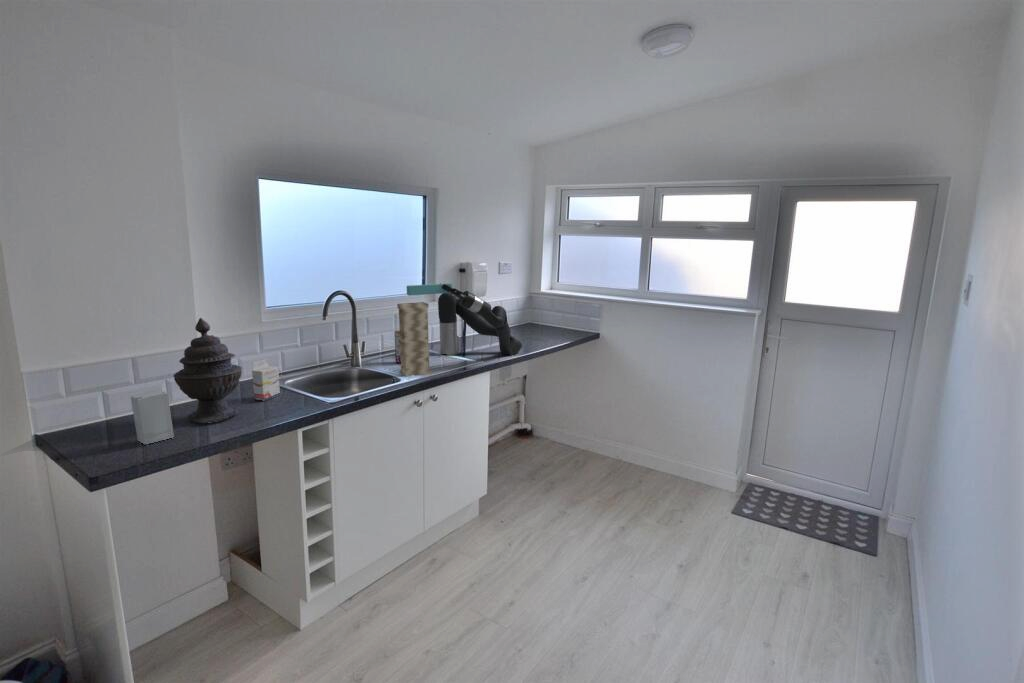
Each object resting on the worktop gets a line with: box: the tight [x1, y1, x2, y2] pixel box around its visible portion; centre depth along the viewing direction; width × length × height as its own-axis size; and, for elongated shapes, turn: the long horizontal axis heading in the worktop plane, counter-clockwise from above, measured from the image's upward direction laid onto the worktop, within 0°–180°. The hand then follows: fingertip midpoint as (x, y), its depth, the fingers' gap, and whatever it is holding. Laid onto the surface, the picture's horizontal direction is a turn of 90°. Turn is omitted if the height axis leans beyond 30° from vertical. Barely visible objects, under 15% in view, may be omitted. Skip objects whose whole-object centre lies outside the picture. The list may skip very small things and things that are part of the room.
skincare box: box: [130, 389, 175, 444], centre depth 161 cm, size 8×6×15 cm
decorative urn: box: [173, 317, 243, 424], centre depth 181 cm, size 20×20×35 cm
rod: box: [406, 283, 453, 296], centre depth 242 cm, size 20×4×4 cm, turn 120°
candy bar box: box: [394, 328, 401, 363], centre depth 266 cm, size 11×5×16 cm, turn 84°
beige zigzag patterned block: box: [396, 301, 432, 377], centre depth 242 cm, size 12×7×32 cm, turn 120°
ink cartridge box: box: [251, 358, 281, 399], centre depth 205 cm, size 9×5×15 cm, turn 160°
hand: (441, 285), depth 244 cm, fingers closed on rod, 4 cm apart
